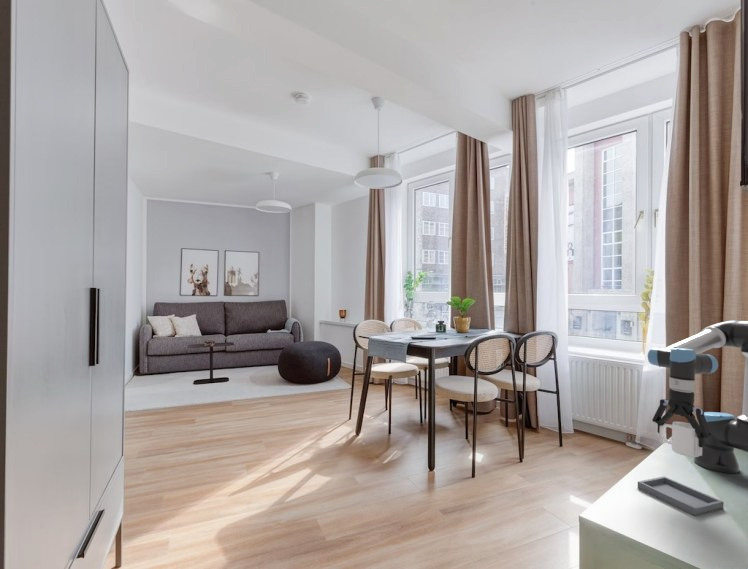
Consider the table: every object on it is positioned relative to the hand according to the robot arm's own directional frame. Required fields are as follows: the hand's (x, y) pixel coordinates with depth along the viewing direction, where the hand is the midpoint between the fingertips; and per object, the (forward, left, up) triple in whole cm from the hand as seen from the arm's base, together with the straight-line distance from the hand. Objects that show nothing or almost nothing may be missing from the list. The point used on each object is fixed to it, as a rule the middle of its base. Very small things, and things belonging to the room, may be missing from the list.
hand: (679, 448), depth 147 cm
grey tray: (+2, +1, -17) cm, 17 cm away
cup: (0, 0, -1) cm, 1 cm away
